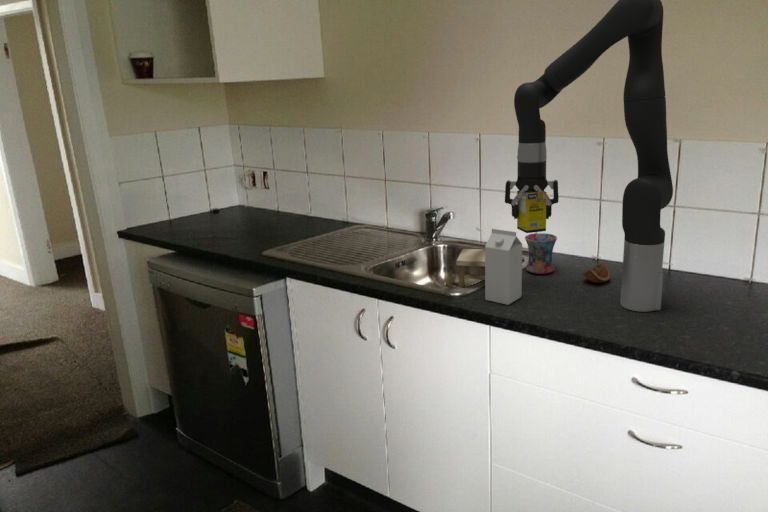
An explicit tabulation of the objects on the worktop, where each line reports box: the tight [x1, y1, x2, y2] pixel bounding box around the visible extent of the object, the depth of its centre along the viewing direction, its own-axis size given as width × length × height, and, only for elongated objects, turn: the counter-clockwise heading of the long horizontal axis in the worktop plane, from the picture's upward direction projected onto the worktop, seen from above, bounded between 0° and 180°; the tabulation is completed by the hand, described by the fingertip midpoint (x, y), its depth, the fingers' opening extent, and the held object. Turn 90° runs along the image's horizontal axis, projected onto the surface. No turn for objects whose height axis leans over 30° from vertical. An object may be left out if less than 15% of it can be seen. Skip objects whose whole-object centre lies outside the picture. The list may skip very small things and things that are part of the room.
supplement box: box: [516, 189, 547, 234], centre depth 176 cm, size 6×6×11 cm
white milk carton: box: [484, 228, 523, 306], centre depth 170 cm, size 7×7×19 cm
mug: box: [524, 232, 558, 275], centre depth 193 cm, size 12×9×11 cm
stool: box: [456, 248, 485, 288], centre depth 186 cm, size 12×12×8 cm
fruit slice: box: [582, 262, 611, 284], centre depth 181 cm, size 8×7×5 cm
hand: (531, 218), depth 177 cm, fingers closed on supplement box, 8 cm apart
